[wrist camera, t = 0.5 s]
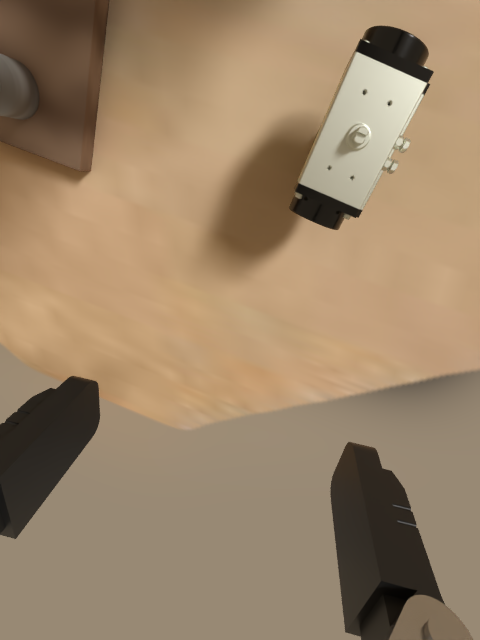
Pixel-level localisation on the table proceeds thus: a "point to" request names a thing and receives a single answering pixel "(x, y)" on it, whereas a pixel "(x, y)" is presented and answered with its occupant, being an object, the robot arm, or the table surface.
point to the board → (51, 77)
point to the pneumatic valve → (363, 126)
